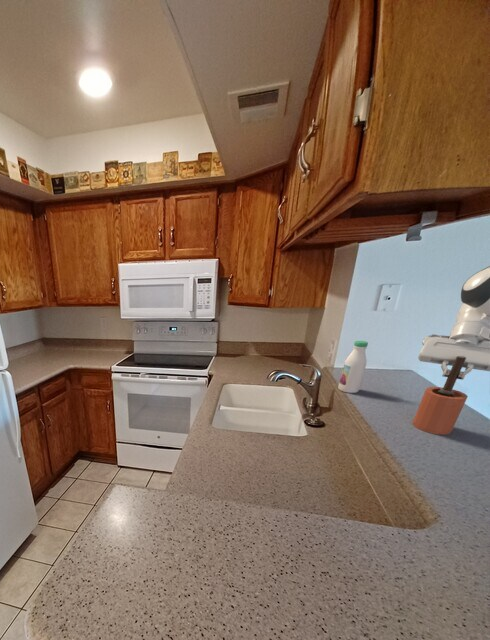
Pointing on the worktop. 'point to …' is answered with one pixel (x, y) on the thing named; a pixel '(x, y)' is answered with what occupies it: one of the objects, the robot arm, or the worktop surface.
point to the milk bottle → (354, 368)
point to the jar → (438, 411)
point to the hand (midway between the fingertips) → (452, 377)
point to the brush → (452, 377)
